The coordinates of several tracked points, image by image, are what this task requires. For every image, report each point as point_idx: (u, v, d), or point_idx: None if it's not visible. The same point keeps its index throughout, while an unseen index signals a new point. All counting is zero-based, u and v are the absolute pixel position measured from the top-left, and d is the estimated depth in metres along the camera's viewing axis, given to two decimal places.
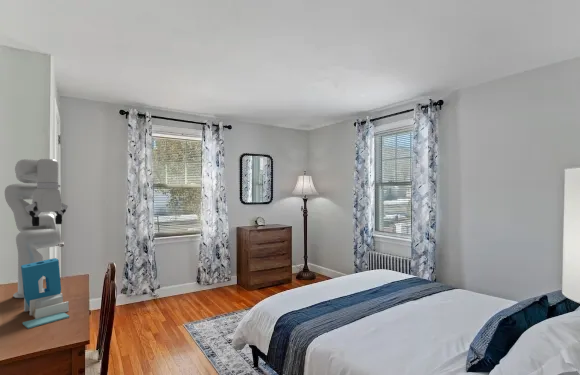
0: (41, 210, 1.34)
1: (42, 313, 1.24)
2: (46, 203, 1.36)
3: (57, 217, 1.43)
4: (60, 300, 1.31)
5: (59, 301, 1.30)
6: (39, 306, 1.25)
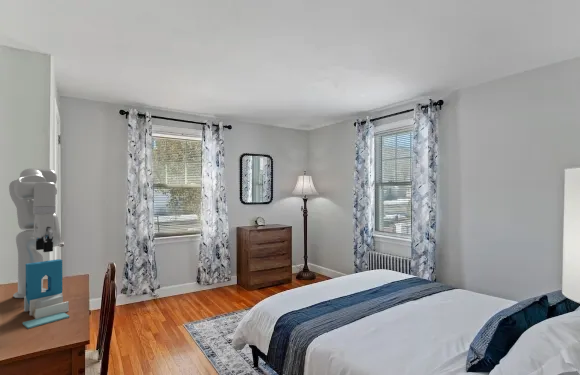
0: None
1: (42, 313, 1.24)
2: None
3: (40, 242, 1.36)
4: (60, 300, 1.31)
5: (59, 301, 1.30)
6: (39, 306, 1.25)
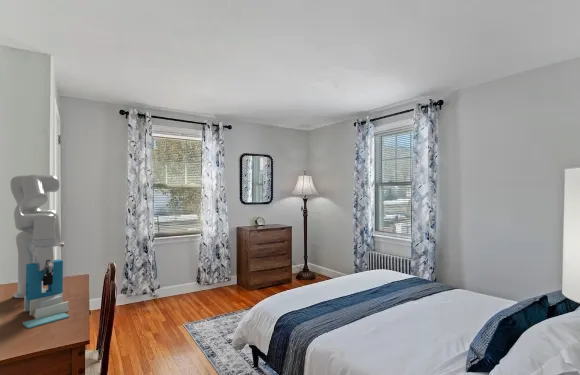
0: None
1: (42, 313, 1.24)
2: None
3: None
4: (60, 300, 1.31)
5: (59, 301, 1.30)
6: (39, 306, 1.24)
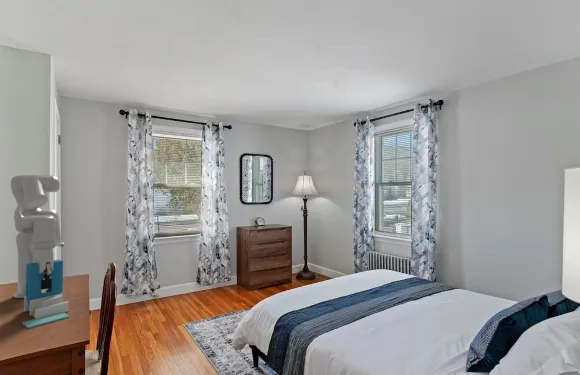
0: None
1: (42, 313, 1.24)
2: None
3: None
4: (61, 299, 1.31)
5: (60, 301, 1.31)
6: (41, 306, 1.25)
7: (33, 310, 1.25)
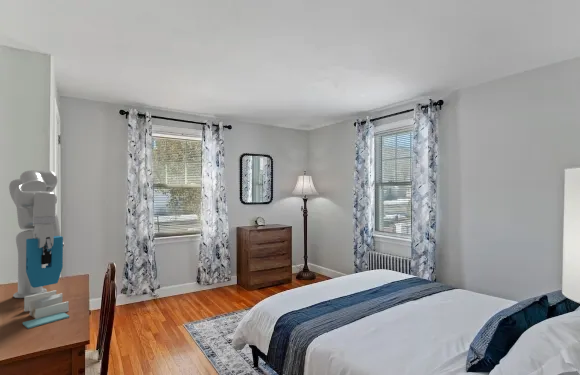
0: None
1: (42, 313, 1.24)
2: None
3: None
4: (60, 300, 1.31)
5: (59, 301, 1.31)
6: (40, 306, 1.25)
7: (32, 310, 1.25)
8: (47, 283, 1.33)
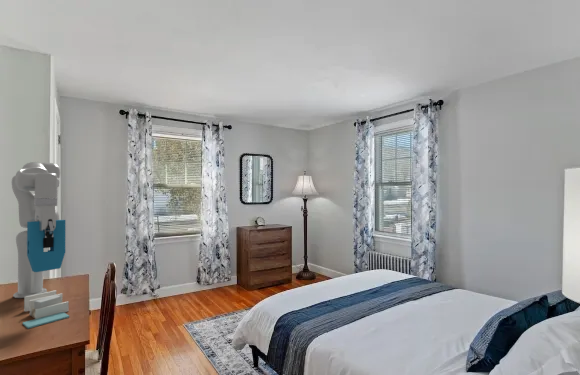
0: None
1: (42, 313, 1.24)
2: None
3: None
4: (59, 300, 1.31)
5: (58, 301, 1.30)
6: (39, 306, 1.24)
7: (32, 310, 1.25)
8: (49, 268, 1.27)
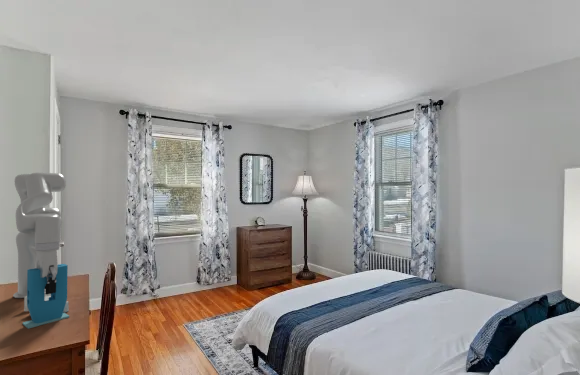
0: None
1: None
2: None
3: None
4: None
5: None
6: None
7: None
8: (50, 317, 1.21)
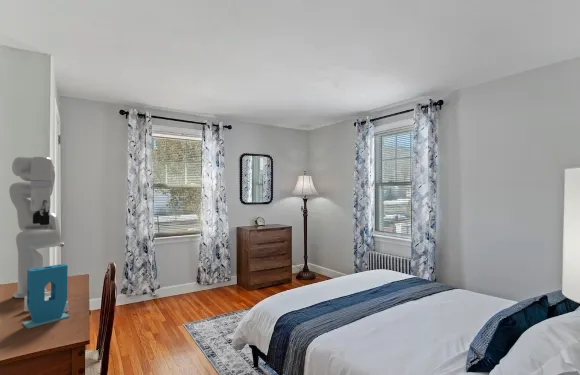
0: (49, 209, 1.35)
1: None
2: None
3: (37, 216, 1.39)
4: None
5: None
6: None
7: None
8: (50, 317, 1.21)
